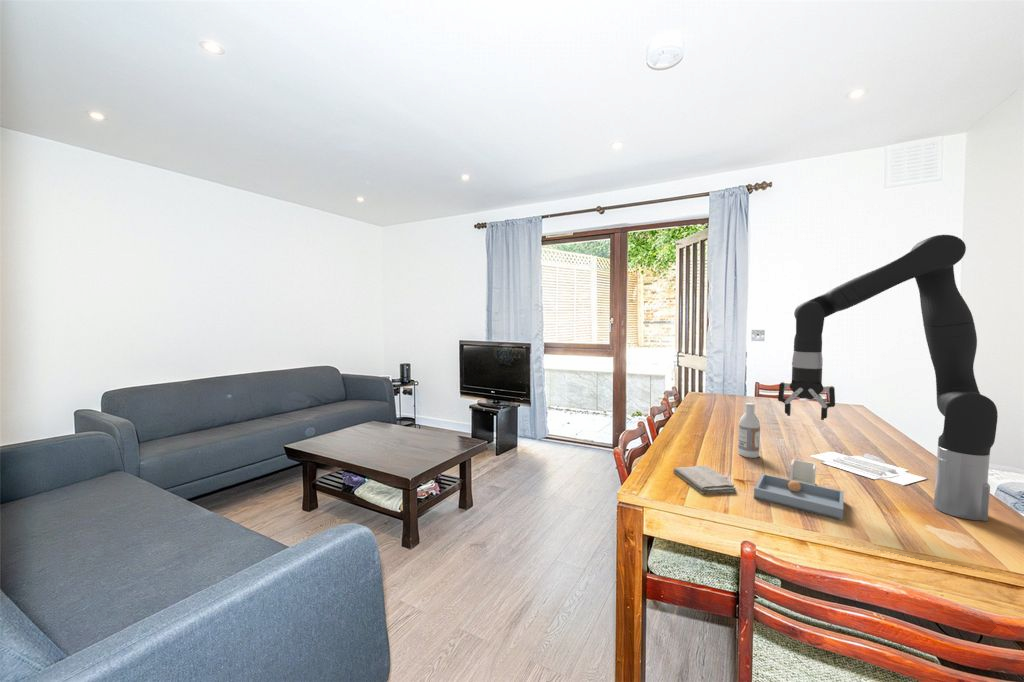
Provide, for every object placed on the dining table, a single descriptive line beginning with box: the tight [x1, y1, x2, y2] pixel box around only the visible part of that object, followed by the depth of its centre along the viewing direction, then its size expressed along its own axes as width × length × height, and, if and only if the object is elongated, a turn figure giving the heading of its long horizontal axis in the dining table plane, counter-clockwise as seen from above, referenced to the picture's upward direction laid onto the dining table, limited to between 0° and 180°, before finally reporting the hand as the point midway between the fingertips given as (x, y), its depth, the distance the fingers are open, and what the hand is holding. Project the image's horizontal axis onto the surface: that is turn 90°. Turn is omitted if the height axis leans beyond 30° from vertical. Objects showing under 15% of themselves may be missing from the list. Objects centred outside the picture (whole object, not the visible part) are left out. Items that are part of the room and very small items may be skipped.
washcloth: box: [672, 465, 738, 495], centre depth 127 cm, size 12×18×3 cm, turn 7°
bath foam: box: [737, 402, 761, 459], centre depth 151 cm, size 7×7×20 cm
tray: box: [753, 473, 845, 522], centre depth 115 cm, size 20×14×3 cm
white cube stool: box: [789, 458, 817, 485], centre depth 125 cm, size 6×6×6 cm
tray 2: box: [808, 451, 928, 487], centre depth 139 cm, size 20×28×4 cm
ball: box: [788, 481, 801, 492], centre depth 119 cm, size 3×3×3 cm
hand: (805, 417), depth 124 cm, fingers open, 8 cm apart
